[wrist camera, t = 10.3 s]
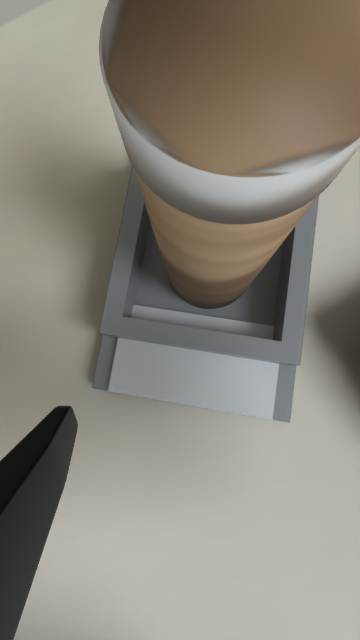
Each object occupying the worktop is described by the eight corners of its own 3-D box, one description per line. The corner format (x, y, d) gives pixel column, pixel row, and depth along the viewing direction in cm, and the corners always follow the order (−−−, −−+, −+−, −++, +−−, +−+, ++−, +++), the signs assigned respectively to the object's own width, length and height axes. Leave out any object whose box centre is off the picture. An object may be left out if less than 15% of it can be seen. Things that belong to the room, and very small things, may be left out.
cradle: (285, 419, 17) (304, 431, 14) (96, 386, 18) (77, 391, 15) (314, 161, 20) (336, 125, 17) (144, 141, 20) (136, 103, 17)
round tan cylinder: (227, 325, 18) (323, 235, 5) (150, 284, 18) (43, 99, 5) (269, 249, 18) (459, -25, 5) (192, 210, 19) (189, -128, 6)
